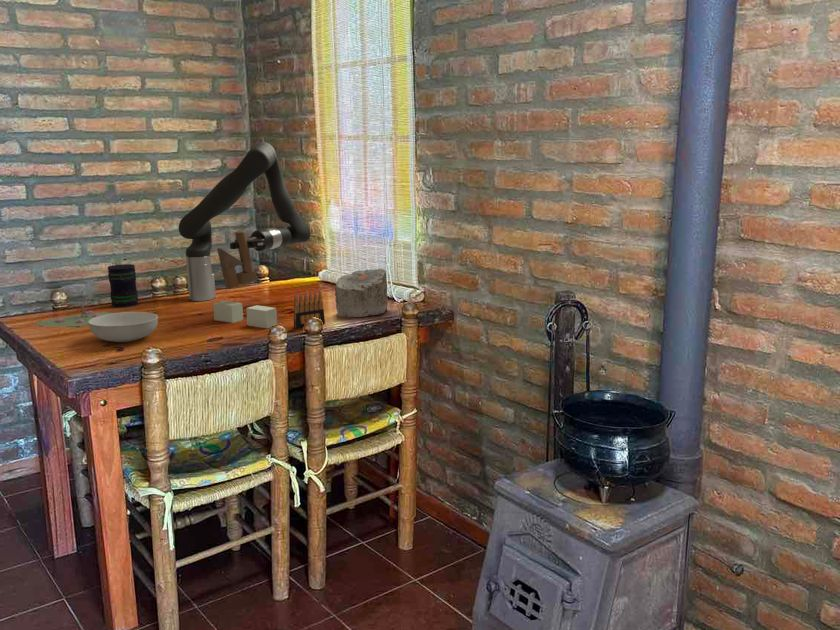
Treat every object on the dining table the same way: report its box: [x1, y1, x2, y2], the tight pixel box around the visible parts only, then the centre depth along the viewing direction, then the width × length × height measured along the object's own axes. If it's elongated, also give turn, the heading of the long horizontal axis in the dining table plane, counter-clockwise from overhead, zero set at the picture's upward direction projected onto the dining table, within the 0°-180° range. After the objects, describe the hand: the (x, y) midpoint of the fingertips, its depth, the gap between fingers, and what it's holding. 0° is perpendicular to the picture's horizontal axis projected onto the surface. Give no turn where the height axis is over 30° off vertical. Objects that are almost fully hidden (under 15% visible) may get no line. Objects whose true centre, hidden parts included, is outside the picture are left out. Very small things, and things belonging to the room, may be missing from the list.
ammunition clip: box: [293, 288, 326, 329], centre depth 267 cm, size 11×2×12 cm, turn 123°
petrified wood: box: [334, 268, 389, 318], centre depth 284 cm, size 19×17×15 cm
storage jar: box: [107, 258, 139, 309], centre depth 303 cm, size 10×10×18 cm
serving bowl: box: [88, 311, 159, 343], centre depth 254 cm, size 21×21×7 cm
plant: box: [33, 295, 112, 328], centre depth 280 cm, size 25×21×9 cm
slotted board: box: [212, 300, 278, 329], centre depth 273 cm, size 5×25×6 cm, turn 57°
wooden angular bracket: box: [216, 229, 258, 289], centre depth 275 cm, size 4×11×18 cm, turn 130°
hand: (231, 246), depth 273 cm, fingers closed
